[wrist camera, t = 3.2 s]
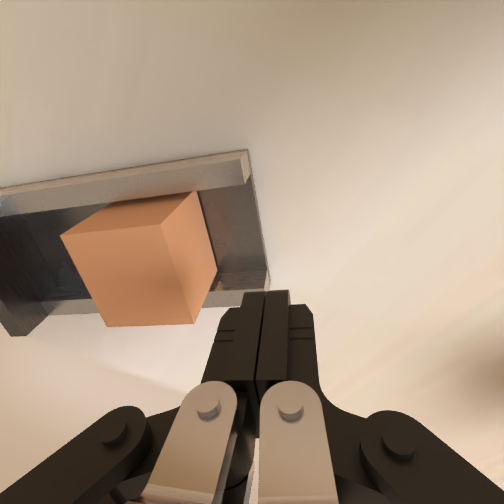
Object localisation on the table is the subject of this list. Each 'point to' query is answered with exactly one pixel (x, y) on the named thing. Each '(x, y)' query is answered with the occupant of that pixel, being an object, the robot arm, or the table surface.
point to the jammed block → (145, 260)
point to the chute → (102, 194)
